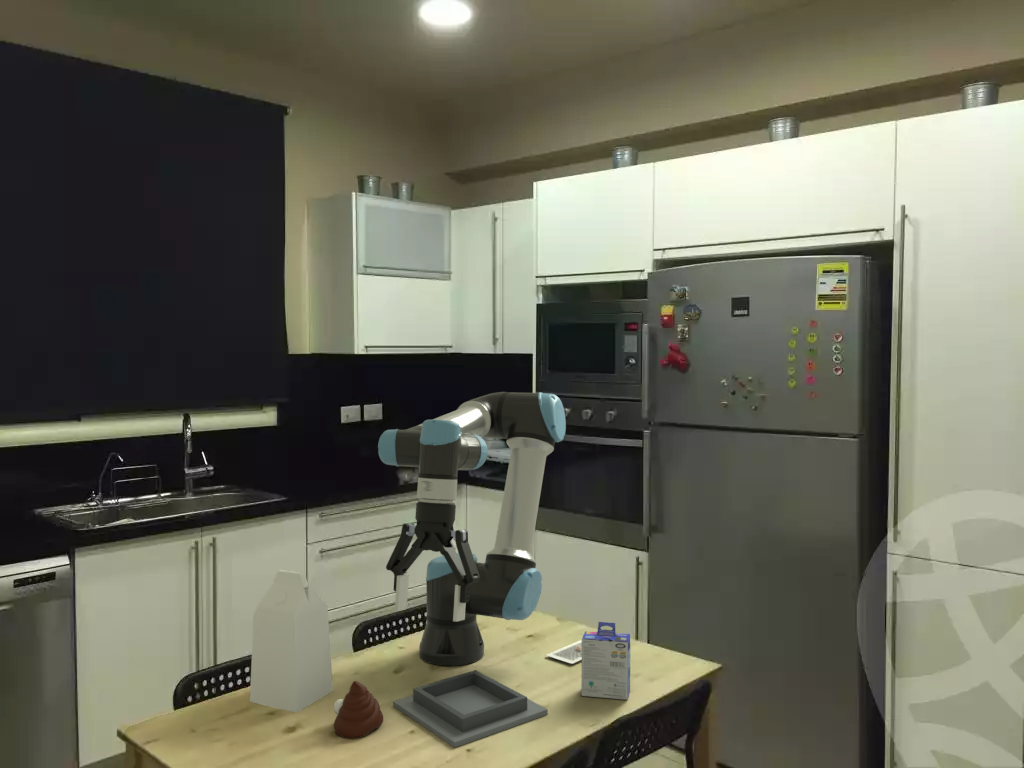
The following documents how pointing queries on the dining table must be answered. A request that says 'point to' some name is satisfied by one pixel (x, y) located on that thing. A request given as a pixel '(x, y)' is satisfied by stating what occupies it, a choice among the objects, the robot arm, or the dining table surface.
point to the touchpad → (568, 653)
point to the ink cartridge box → (606, 663)
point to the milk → (290, 645)
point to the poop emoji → (357, 713)
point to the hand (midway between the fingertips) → (429, 615)
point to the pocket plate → (468, 707)
